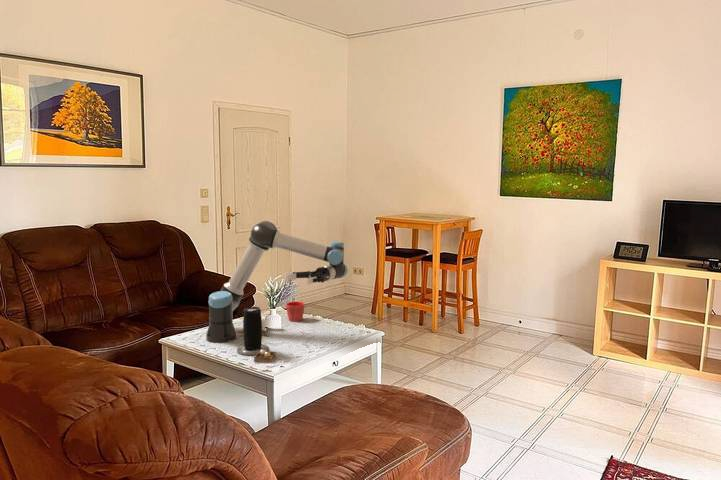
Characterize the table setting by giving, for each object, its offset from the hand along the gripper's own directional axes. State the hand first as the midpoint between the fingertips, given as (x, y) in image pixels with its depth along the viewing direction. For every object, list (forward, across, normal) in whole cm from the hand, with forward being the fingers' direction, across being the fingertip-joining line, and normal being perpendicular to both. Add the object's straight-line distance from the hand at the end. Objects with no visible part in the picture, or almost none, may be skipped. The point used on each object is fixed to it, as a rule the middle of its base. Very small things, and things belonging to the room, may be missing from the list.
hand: (297, 279), depth 268 cm
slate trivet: (+18, +12, -34) cm, 40 cm away
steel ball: (+22, 0, -31) cm, 38 cm away
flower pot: (-36, +34, -34) cm, 60 cm away
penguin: (-11, +35, -34) cm, 50 cm away
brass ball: (+24, -4, -31) cm, 39 cm away
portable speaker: (+18, +12, -33) cm, 39 cm away
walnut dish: (+23, -2, -34) cm, 41 cm away
